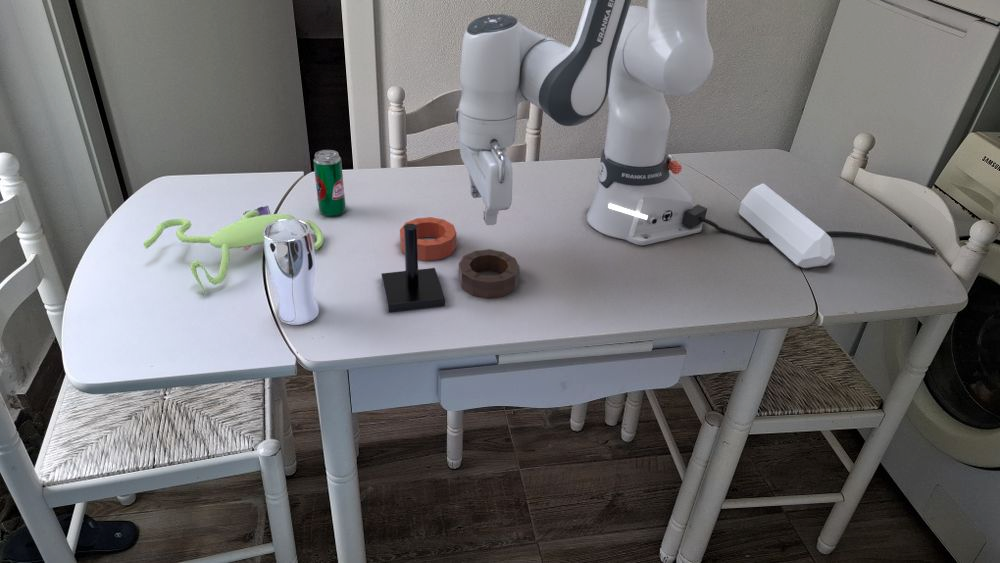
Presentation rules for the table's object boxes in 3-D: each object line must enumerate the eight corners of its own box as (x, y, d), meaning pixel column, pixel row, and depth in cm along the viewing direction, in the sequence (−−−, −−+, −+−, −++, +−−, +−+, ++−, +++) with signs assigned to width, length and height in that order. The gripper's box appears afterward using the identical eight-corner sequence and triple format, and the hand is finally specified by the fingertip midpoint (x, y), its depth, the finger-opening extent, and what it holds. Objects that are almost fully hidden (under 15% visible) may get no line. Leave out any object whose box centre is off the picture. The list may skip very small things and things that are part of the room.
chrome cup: (280, 300, 109) (266, 217, 100) (324, 299, 109) (314, 217, 101) (271, 327, 103) (256, 242, 95) (318, 326, 104) (307, 242, 95)
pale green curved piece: (141, 254, 118) (132, 226, 115) (282, 208, 133) (278, 182, 130) (185, 303, 107) (177, 273, 104) (334, 246, 123) (331, 219, 120)
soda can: (340, 219, 131) (334, 161, 124) (315, 216, 132) (307, 158, 125) (350, 207, 135) (344, 150, 128) (325, 204, 136) (319, 147, 129)
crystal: (854, 251, 122) (776, 190, 141) (831, 237, 118) (754, 176, 137) (825, 283, 124) (753, 219, 143) (801, 270, 121) (730, 206, 140)
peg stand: (435, 275, 117) (434, 210, 110) (445, 305, 110) (444, 238, 102) (381, 280, 115) (377, 215, 108) (388, 312, 107) (384, 244, 100)
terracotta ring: (449, 230, 129) (449, 215, 128) (460, 257, 122) (460, 242, 120) (397, 235, 127) (396, 219, 125) (405, 263, 119) (404, 247, 117)
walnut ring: (508, 262, 121) (509, 247, 119) (524, 294, 113) (525, 278, 111) (454, 268, 119) (454, 252, 117) (466, 301, 111) (466, 284, 109)
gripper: (526, 155, 97) (518, 239, 105) (490, 104, 113) (486, 181, 121) (482, 157, 95) (478, 242, 103) (453, 106, 112) (451, 183, 119)
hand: (482, 209), depth 112 cm, fingers open, 8 cm apart
